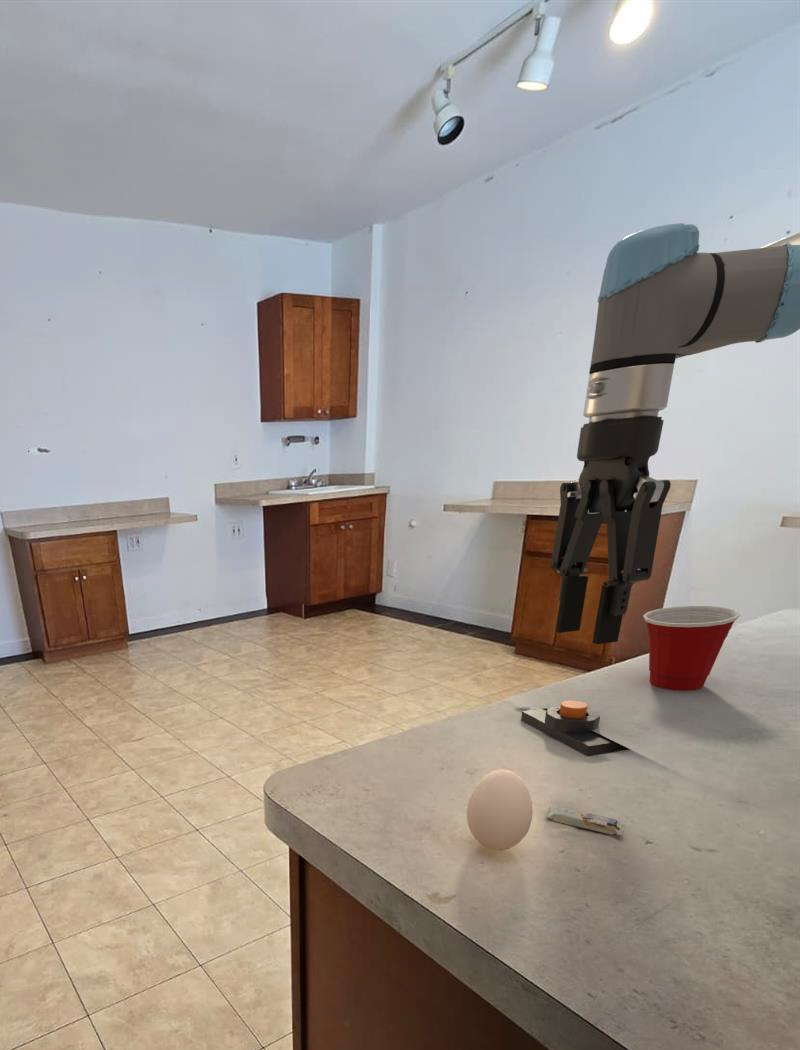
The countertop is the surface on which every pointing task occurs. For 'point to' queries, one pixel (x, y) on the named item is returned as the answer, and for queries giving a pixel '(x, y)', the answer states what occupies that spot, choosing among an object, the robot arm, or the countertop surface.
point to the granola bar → (585, 820)
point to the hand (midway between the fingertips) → (585, 636)
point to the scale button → (573, 709)
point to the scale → (572, 730)
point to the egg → (499, 810)
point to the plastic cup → (686, 644)
